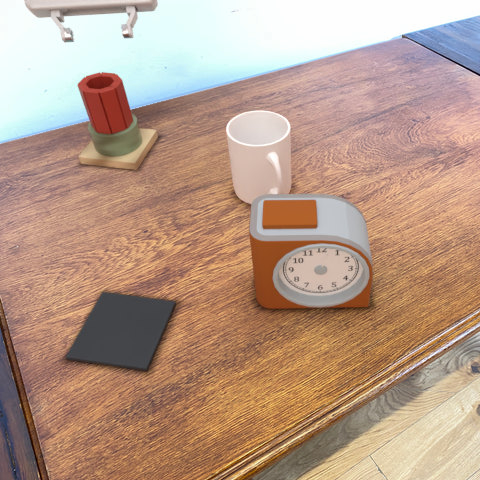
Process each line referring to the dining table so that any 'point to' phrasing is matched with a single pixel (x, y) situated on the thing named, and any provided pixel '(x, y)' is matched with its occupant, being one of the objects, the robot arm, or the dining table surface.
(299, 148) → the dining table surface
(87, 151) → the ring stand
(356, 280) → the alarm clock
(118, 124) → the ring sleeve
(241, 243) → the dining table surface
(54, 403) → the dining table surface
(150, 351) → the mat
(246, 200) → the mug
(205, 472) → the dining table surface
